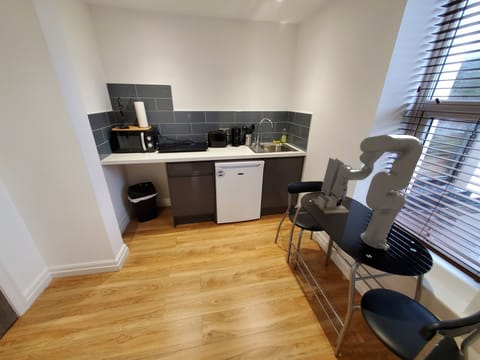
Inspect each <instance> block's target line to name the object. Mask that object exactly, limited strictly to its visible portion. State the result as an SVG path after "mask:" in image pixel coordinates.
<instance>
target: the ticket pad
mask: <svg viewBox="0 0 480 360" xmlns="http://www.w3.org/2000/svg"><path fill="white" fill-rule="evenodd" d="M317 199H318V201H317V204H318V205H319V206H320V207H324V208H325V209H326V207H332V206H333V203H334V199H333V198H331V197H330V195H328V196H326V195H325V194H324V193H319V195H318V197H317Z"/></svg>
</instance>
